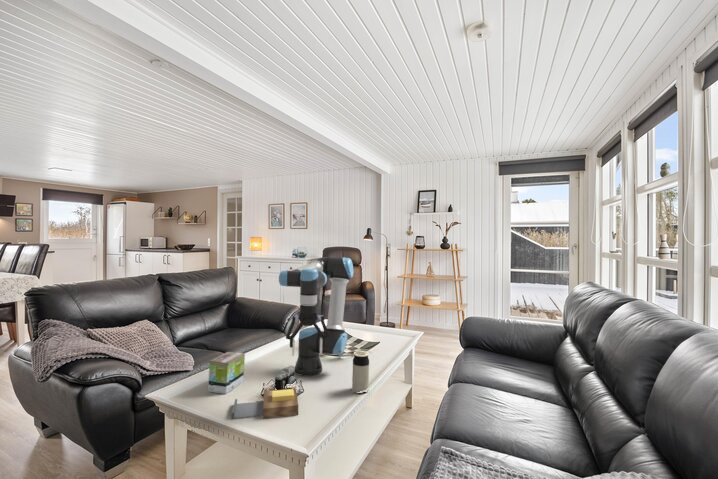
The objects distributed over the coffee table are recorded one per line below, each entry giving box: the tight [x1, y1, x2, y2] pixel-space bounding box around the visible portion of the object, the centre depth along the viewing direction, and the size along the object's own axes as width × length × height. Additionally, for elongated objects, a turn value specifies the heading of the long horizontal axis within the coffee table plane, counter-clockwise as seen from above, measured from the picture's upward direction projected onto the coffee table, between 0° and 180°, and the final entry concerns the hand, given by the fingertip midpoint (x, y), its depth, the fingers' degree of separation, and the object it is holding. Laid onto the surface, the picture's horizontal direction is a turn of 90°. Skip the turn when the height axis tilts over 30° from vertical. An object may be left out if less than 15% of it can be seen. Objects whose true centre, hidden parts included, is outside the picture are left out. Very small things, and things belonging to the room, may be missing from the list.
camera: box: [274, 365, 297, 390], centre depth 160 cm, size 15×7×10 cm, turn 162°
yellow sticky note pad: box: [271, 388, 294, 402], centre depth 143 cm, size 9×6×2 cm, turn 104°
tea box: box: [207, 351, 246, 395], centre depth 161 cm, size 15×10×15 cm, turn 168°
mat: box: [231, 398, 264, 420], centre depth 139 cm, size 12×12×2 cm
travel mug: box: [351, 350, 370, 393], centre depth 161 cm, size 8×8×18 cm
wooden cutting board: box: [262, 388, 299, 420], centre depth 142 cm, size 14×16×4 cm
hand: (307, 353), depth 145 cm, fingers open, 11 cm apart
